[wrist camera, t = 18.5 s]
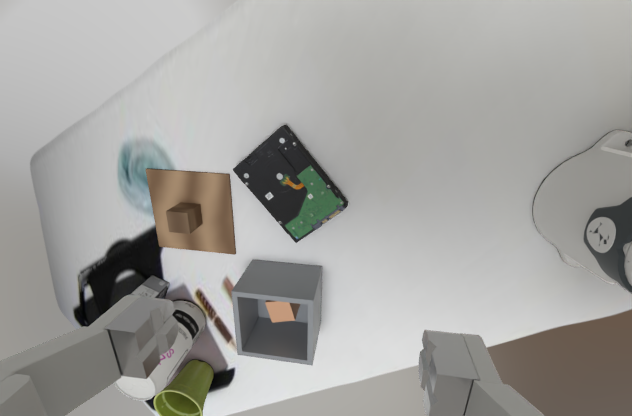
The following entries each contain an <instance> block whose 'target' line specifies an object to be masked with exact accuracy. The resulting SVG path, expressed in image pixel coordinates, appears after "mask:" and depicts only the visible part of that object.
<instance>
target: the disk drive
mask: <svg viewBox="0 0 632 416" xmlns="http://www.w3.org/2000/svg"><path fill="white" fill-rule="evenodd" d="M233 171H234V172H235V173H236V174H237V175H238V177H239V178H240V179H241V181H242V182H243V183H244V184H246V186H247V187H248V188H249V189H250V191H251V192H252V193H253V194H254V195H255V196H256V197H257V199H258V200H259V201H260V202H261V203H262V204H263V205H264V207H265V208H266V209H267V210H268V211H269V212H270V213H271V215H272V216H273V217H274V218H275V219H276V221H277V222H278V223H279V224H280V225H281V226H282V228H283V229H284V230H285V231H286V232H287V233H288V234H289V235H290V237H291V238H292V239H293V240H294V241H295V242H298V241H300V240H301V239H303V238H304V237H306V236H307V235H308V234H310V233H311V232H313V231H314V230H316V229H318V228H319V227H321V226H322V224H324V223H326V222H327V221H328V220H329V219H331V218H333V217H334V216H335V215H337V214H338V213H340V212H341V211H343V210H344V209H345V208H346V207H347V206H348V201H347V200H346V199H345V198H344V196H343V195H342V194H341V192H340V191H339V190H338V188H337V187H336V186H335V185H334V184H333V182H332V181H331V180H330V179H329V178H328V176H327V175H326V174H325V172H324V171H323V170H322V169H321V167H320V166H319V165H318V164H317V162H316V161H315V160H314V159H313V158H312V156H311V155H310V154H309V153H308V151H307V150H306V149H305V148H304V146H303V145H302V144H301V142H300V141H299V140H298V138H297V137H296V136H295V134H294V133H293V132H292V131H291V130H290V129H289V128H288V126H287V125H284V126H282V127H280V128H279V129H278V130H277V131H276V132H275V133H273V134H272V135H271V136H270V137H269V138H268V139H267V140H266V141H264V142H263V143H262V144H261V145H260V146H259V147H258V148H256V149H255V150H254V151H253V152H252V153H251V154H250V155H249V156H248V157H247V158H245V159H244V160H243V161H242V162H241V163H239V164H238V165H237V166H236V167H235V168H234V169H233Z"/></svg>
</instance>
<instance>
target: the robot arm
mask: <svg viewBox="0 0 632 416" xmlns="http://www.w3.org/2000/svg"><path fill="white" fill-rule="evenodd" d="M628 140H629V143H628V144H627V145H626V146H625V143H626V141H628ZM533 217H534V222H535V225H536V227H537V229H538V231H539V232H540V234H541V235H542V236H543V237H544V238H545V239H546V240H547V241H549V242H550V243H552V244H553V245H554V246H555V247H556V248H557V249H558V251H559V254H560V256H561V258H562V259H563V261H564V262H565V263H567V264H568V265H570V266H573V267H584V268H585V269H587V270H588V271H590V272H591V273H593V274H594V275H596V276H597V277H599V278H601V279H602V280H604V281H605V282H607V283H609V284H616V283H617V284H618V285H619V286H620V287H622V288H623V289H624V290H627V291H628V292H629V293H632V132H627V131H623V130H614V131H612V132H610V133H608V134H607V135H605V136H604V137H603V138H602V139H601V140H600V141H598V142H597V143H596V144H595V145H594V146H593V147H592V148H591V149H589V150H587V151H585V152H583V153H581V154H579V155H577V156H575V157H573V158H571V159H569V160H567V161H566V162H564V163H563V164H561V165H560V166H559V167H557V168H556V169H555V170H554V171H553V172H552V173H551V174H550V175H549V176H548V177H547V178H546V179H545V181H544V182H543V183H542V185H541V186H540V188H539V190H538V192H537V194H536V197H535V200H534V205H533ZM174 311H175V307H174V303H173V302H172V301H170V300H167V299H160V298H153V297H146V296H137V295H127V296H124V297H123V298H122V299H121V300H120V301H118V302H117V303H116V304H115V305H114V306H113V307H111V308H110V309H109V310H108V311H107V312H105V313H104V314H103V315H102V316H101V317H99V318H98V319H97V320H96V321H95V322H93V323H92V324H91V325H90V326H89V327H81V328H79V329H77V330H74V331H72V332H69V333H67V334H64V335H62V336H60V337H57V338H55V339H52V340H50V341H48V342H45V343H43V344H41V345H38V346H35V347H33V348H30V349H28V350H26V351H23V352H21V353H18V354H16V355H14V356H11V357H9V358H6V359H4V360H2V361H0V416H65V415H67V414H68V413H70V412H71V411H72V410H74V409H75V408H77V407H78V406H80V405H81V404H83V403H84V402H86V401H87V400H89V399H90V398H92V397H93V396H95V395H96V394H98V393H99V392H101V391H102V390H104V389H105V388H106V387H108V386H110V385H111V384H113V383H114V382H116V381H117V380H118V379H120V378H121V376H126V377H134V378H142V379H147V378H148V377H149V376H150V374H151V373H152V372H153V370H154V369H155V368H156V367H157V365H158V364H159V363H160V355H162V354H163V353H165V352H167V351H169V350H170V348H171V347H172V346H173V344H174V343H175V340H176V337H177V335H178V322H177V320H176V319H175V318H174V317H173V315H172V314H173V313H174ZM422 342H423V347H424V349H423V350H422V351H421V352H420V357H419V379H420V385H421V387H422V388H423V390H424V391H425V393H424V400H423V403H424V408H425V414H426V416H544V415H543V414H542V413H541V412H540V411H539V410H537V409H536V408H535V407H534V406H533V405H532V404H530V403H529V402H528V401H527V400H526V399H525V398H523V397H522V396H521V395H520V394H519V393H518V392H516V391H515V390H514V389H513V388H512V387H510V386H509V385H506V384H502V381H501V379H500V377H499V375H498V373H497V370H496V368H495V366H494V364H493V362H492V359H491V357H490V355H489V353H488V351H487V348H486V346H485V344H484V342H483V340H482V338H481V337H480V336H479V335H472V334H462V333H461V334H458V333H449V332H440V331H431V330H425V331H424V333H423V338H422Z"/></svg>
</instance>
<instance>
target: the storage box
mask: <svg viewBox="0 0 632 416" xmlns="http://www.w3.org/2000/svg"><path fill="white" fill-rule="evenodd" d="M321 292H322V266H313V265H303V264H293V263H282V262H272V261H262V260H252V262H251V263H250V264H249V266H248V267H247V269H246V270H245V272H244V273H243V275H242V276H241V278H240V279H239V281H238V282H237V284H236V285H235V287H234V288H233V290H232V301H233V312H234V322H235V332H236V343H237V353H238V355H244V356H251V357H258V358H265V359H272V360H279V361H286V362H293V363H300V364H307V365H313V360H314V355H315V350H316V345H317V340H318V335H319V330H320V324H321ZM266 300H272V301H280V302H289V303H298V304H300V306H299V310H298V313H297V316H296V319H295V320H294V321H284V322H273V323H272V321H271V318H270V315H269V312H268V310H267V307H266V304H265V302H266Z"/></svg>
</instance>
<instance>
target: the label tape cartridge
mask: <svg viewBox="0 0 632 416" xmlns="http://www.w3.org/2000/svg"><path fill="white" fill-rule="evenodd" d="M168 286H169V283H168V282H167V281H165V280H162V279H160V278H158V277H156V276H154V275H152V276H151V277H150V278H149V279H147V280H146V281H145V282H144V283H143V284H142V285H140V286H139V287H138V288H137V289H136V290H135V291H134V292H132V293H131V294H130V295H137V296H146V297H153V298H160V299H164V298H165V295H166V292H167V289H168Z"/></svg>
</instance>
